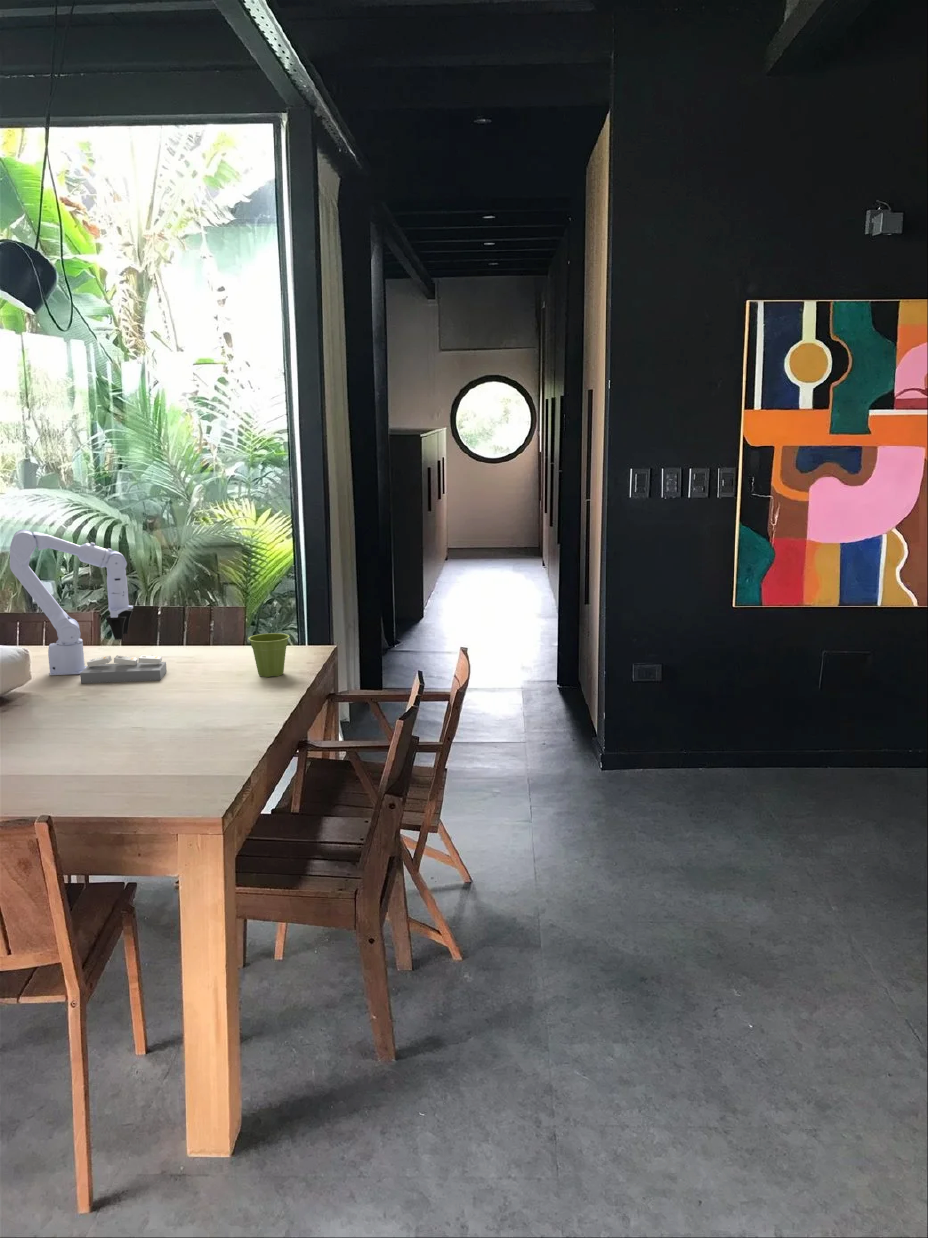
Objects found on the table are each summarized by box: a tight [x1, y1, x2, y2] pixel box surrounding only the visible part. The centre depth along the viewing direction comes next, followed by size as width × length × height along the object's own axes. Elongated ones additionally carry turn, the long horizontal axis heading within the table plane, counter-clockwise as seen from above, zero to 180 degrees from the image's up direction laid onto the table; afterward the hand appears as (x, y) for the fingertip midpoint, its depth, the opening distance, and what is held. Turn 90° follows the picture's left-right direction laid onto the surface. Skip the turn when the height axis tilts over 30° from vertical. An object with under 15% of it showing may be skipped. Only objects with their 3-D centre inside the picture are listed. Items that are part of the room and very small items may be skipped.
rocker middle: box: [113, 655, 139, 665], centre depth 284 cm, size 6×4×2 cm, turn 98°
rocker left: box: [86, 655, 112, 667], centre depth 283 cm, size 6×4×2 cm, turn 97°
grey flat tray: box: [79, 661, 168, 684], centre depth 282 cm, size 22×10×3 cm, turn 97°
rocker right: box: [137, 654, 163, 664], centre depth 284 cm, size 6×4×2 cm, turn 97°
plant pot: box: [248, 632, 291, 678], centre depth 284 cm, size 12×12×11 cm
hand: (121, 636), depth 293 cm, fingers open, 7 cm apart
